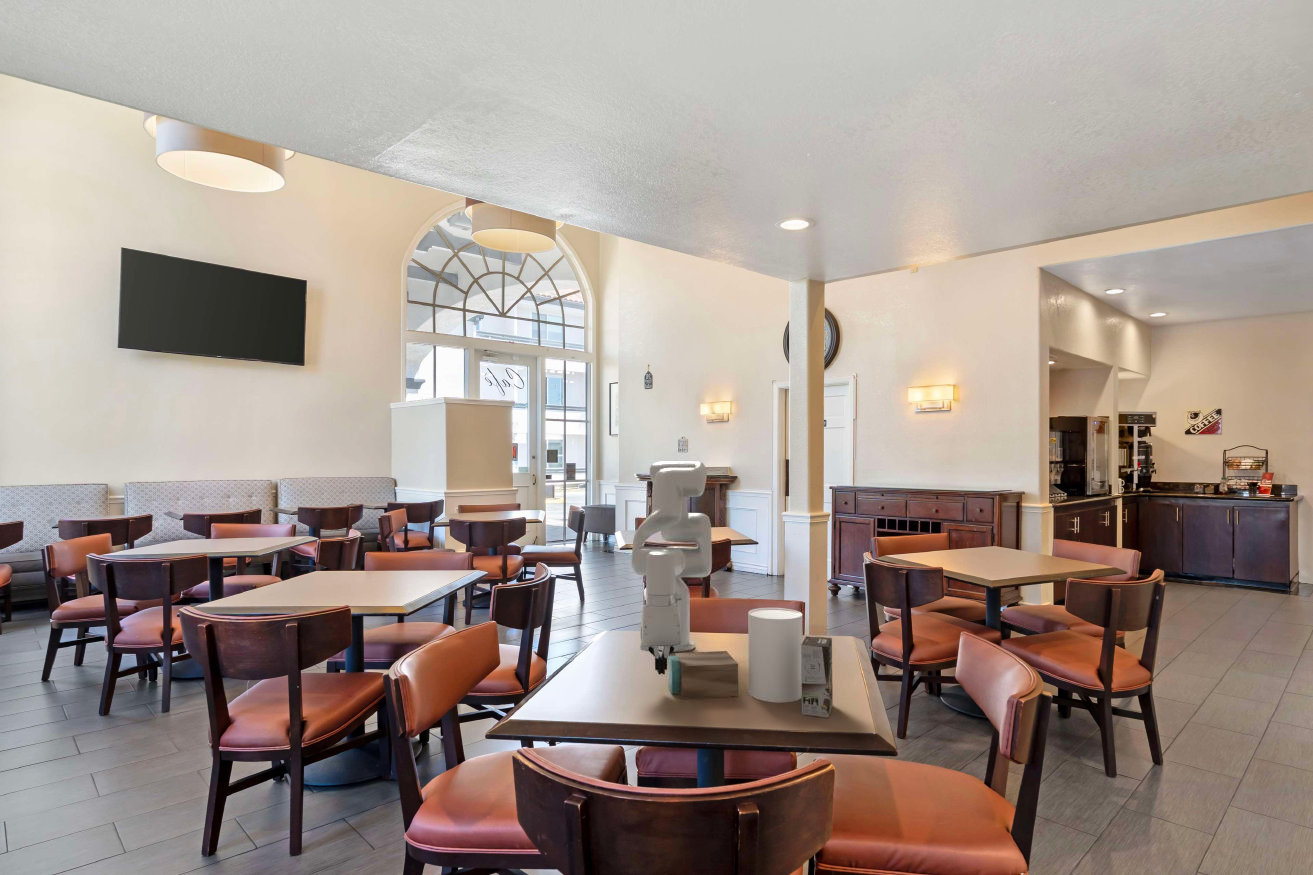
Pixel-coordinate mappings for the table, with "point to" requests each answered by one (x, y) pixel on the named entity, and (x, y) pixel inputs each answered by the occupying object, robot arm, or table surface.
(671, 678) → the peg
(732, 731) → the table surface
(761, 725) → the table surface
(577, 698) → the table surface
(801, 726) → the table surface
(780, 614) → the canister
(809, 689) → the coffee box
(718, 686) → the block
